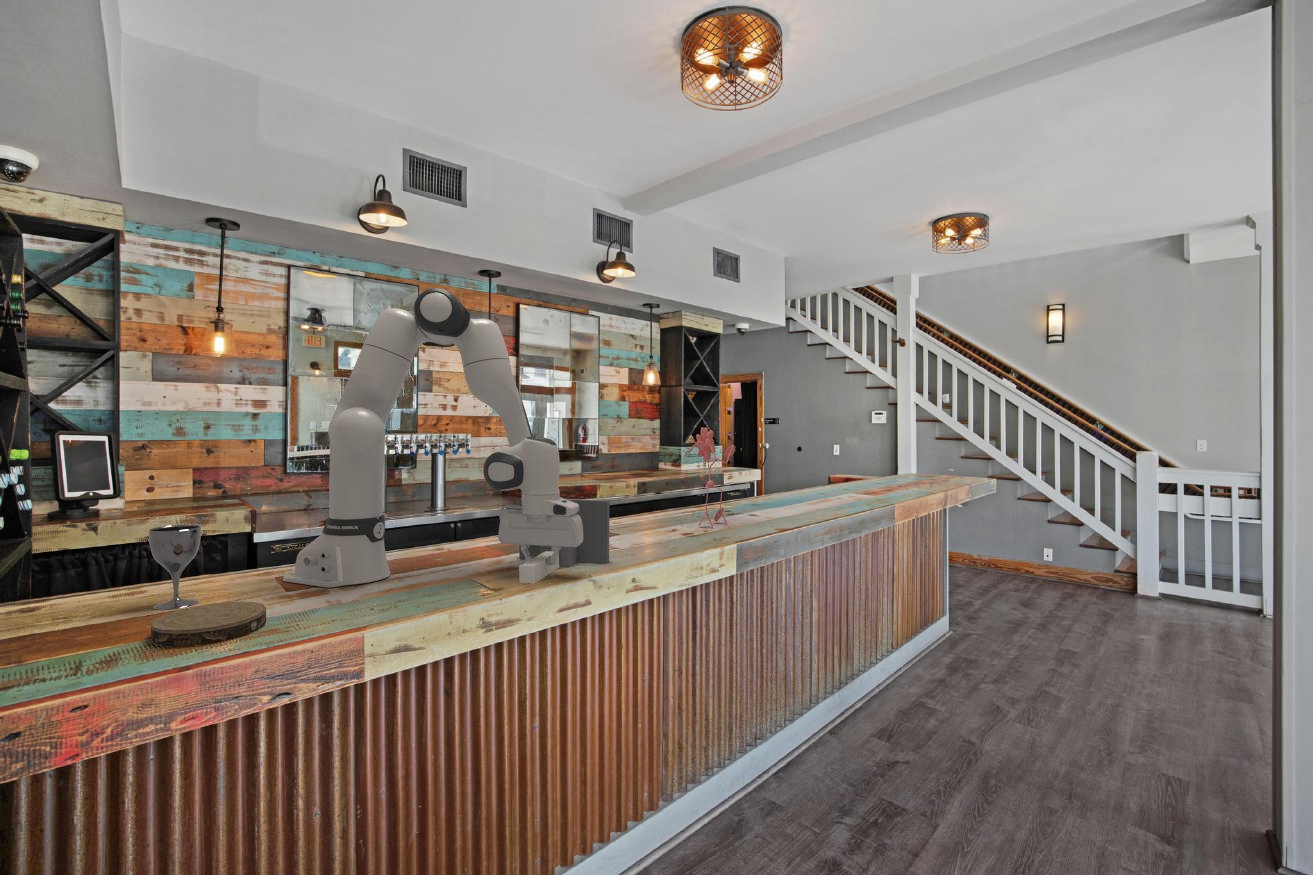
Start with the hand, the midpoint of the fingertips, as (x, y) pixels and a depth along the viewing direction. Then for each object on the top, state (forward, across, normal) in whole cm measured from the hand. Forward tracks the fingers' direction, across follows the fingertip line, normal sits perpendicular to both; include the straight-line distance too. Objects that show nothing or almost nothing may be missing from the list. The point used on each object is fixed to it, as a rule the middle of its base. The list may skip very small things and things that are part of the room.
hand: (540, 563), depth 146 cm
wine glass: (+3, -60, -38) cm, 71 cm away
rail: (+3, 0, +3) cm, 4 cm away
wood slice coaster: (+3, -40, -49) cm, 63 cm away
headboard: (+3, 0, +12) cm, 12 cm away
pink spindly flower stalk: (+3, +29, +82) cm, 87 cm away
